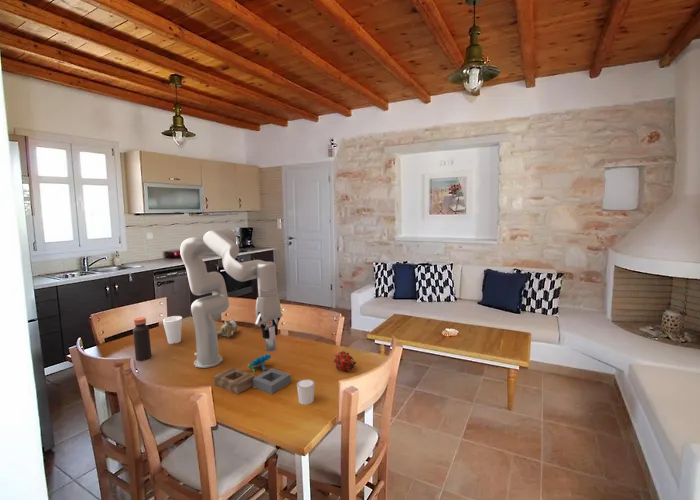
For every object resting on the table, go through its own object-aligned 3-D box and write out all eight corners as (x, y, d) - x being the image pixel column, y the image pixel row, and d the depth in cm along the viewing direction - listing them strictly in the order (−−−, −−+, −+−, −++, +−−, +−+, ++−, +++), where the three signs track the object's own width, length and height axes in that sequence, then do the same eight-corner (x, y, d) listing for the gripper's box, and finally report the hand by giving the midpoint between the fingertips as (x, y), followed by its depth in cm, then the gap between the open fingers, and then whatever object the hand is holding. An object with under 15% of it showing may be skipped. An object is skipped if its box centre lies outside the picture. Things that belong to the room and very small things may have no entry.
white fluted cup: (315, 395, 142) (315, 378, 141) (314, 405, 135) (314, 387, 134) (298, 395, 142) (297, 379, 141) (296, 405, 135) (295, 388, 134)
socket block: (252, 386, 149) (252, 378, 149) (272, 375, 158) (271, 368, 158) (271, 394, 143) (271, 385, 143) (290, 382, 152) (290, 374, 152)
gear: (267, 358, 172) (271, 350, 165) (273, 369, 170) (276, 361, 162) (245, 368, 166) (248, 359, 159) (250, 379, 163) (253, 371, 156)
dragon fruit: (337, 366, 170) (353, 380, 160) (325, 361, 164) (341, 374, 155) (347, 350, 171) (363, 363, 162) (336, 344, 165) (351, 357, 156)
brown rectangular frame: (215, 384, 151) (214, 375, 151) (232, 376, 159) (232, 367, 158) (237, 394, 144) (236, 385, 143) (254, 384, 151) (254, 375, 150)
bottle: (132, 359, 177) (128, 319, 175) (146, 354, 183) (142, 315, 180) (141, 361, 174) (137, 321, 171) (154, 356, 180) (150, 317, 177)
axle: (264, 350, 148) (262, 326, 147) (271, 346, 151) (269, 323, 150) (271, 352, 146) (269, 328, 144) (278, 348, 149) (276, 325, 148)
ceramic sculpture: (241, 316, 212) (228, 327, 198) (242, 330, 214) (230, 341, 199) (224, 316, 214) (211, 326, 199) (226, 330, 216) (212, 341, 201)
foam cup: (171, 346, 193) (169, 322, 191) (161, 343, 197) (159, 320, 195) (187, 340, 201) (185, 317, 199) (177, 337, 205) (175, 315, 204)
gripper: (276, 287, 154) (278, 328, 157) (244, 296, 141) (247, 341, 143) (289, 289, 150) (291, 331, 153) (258, 298, 136) (261, 345, 139)
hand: (270, 336), depth 148 cm, fingers closed on axle, 4 cm apart
